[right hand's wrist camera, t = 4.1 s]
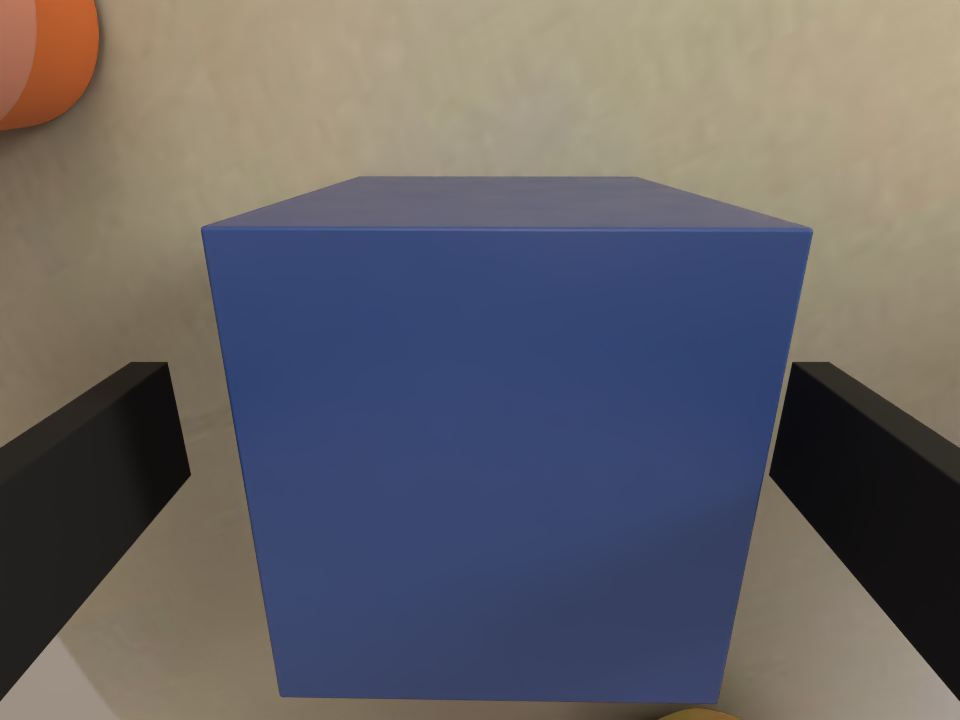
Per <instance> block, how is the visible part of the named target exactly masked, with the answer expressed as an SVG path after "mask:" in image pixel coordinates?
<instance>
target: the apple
mask: <svg viewBox="0 0 960 720" xmlns="http://www.w3.org/2000/svg"><path fill="white" fill-rule="evenodd" d="M658 720H741V719H739V718H736V717H734V716H732V715H729V714H726V713H722V712H718V711H714V710H709V709H704V708H690V709H685V710H681V711H678V712H675V713H672V714H669V715H667V716H664V717H662V718H660V719H658Z"/></svg>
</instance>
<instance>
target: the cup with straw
mask: <svg viewBox="0 0 960 720" xmlns="http://www.w3.org/2000/svg"><path fill="white" fill-rule="evenodd" d="M98 47H99V27H98V18H97V11H96V7H95V2H94V0H0V131H1V130H9V129H17V128H23V127H29V126H35V125H39V124H42V123H45V122H48V121H50V120H53V119H54V118H56V117H58V116H60V115H61V114H63V113H64V112H66V111H67V110H68V109H70V108H71V107H72V106H73V105H74V104H75V103H76V102H77V101H78V99H79V98H80V97H81V96H82V94H83V93H84V91H85V89H86V88H87V86H88V84H89V82H90V80H91V78H92V75H93V72H94V69H95V65H96V61H97V56H98Z"/></svg>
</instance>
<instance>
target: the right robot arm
mask: <svg viewBox="0 0 960 720" xmlns="http://www.w3.org/2000/svg"><path fill="white" fill-rule="evenodd" d="M190 476H191V472H190V468H189V463H188V458H187V453H186V449H185V444H184V439H183V434H182V429H181V425H180V420H179V415H178V410H177V405H176V401H175V396H174V391H173V386H172V381H171V377H170V372H169V367H168V362H130V363H129V364H127V365H126V366H124V367H123V368H121V369H120V370H118V371H117V372H115V373H114V374H112V375H111V376H109V377H108V378H106V379H105V380H103V381H101V382H100V383H98V384H97V385H95V386H94V387H92V388H91V389H89V390H88V391H86V392H85V393H83V394H82V395H80V396H79V397H77V398H76V399H74V400H73V401H71V402H70V403H68V404H67V405H65V406H63V407H62V408H60V409H59V410H57V411H56V412H54V413H53V414H51V415H50V416H48V417H47V418H45V419H44V420H42V421H41V422H39V423H38V424H36V425H35V426H33V427H32V428H30V429H29V430H27V431H25V432H24V433H22V434H21V435H19V436H18V437H16V438H15V439H13V440H12V441H10V442H9V443H7V444H6V445H4V446H3V447H1V448H0V701H1V700H2V699H3V697H4V696H5V695H6V694H7V693H8V691H9V690H10V689H11V688H12V687H13V686H14V684H15V683H16V682H17V681H18V680H19V678H20V677H21V676H22V675H23V674H24V672H25V671H26V670H27V669H28V668H29V667H30V665H31V664H32V663H33V662H34V661H35V659H36V658H37V657H38V656H39V655H40V654H41V652H42V651H43V650H44V649H45V647H46V646H47V645H48V644H49V643H50V642H51V640H52V639H53V638H54V637H55V636H56V635H57V633H58V632H59V631H60V630H61V629H62V627H63V626H64V625H65V624H66V623H67V622H68V620H69V619H70V618H71V617H72V616H73V614H74V613H75V612H76V611H77V610H78V608H79V607H80V606H81V605H82V604H83V603H84V601H85V600H86V599H87V598H88V597H89V595H90V594H91V593H92V592H93V591H94V590H95V588H96V587H97V586H98V585H99V584H100V582H101V581H102V580H103V579H104V578H105V576H106V575H107V574H108V573H109V572H110V571H111V569H112V568H113V567H114V566H115V565H116V563H117V562H118V561H119V560H120V559H121V557H122V556H123V555H124V554H125V553H126V552H127V550H128V549H129V548H130V547H131V546H132V544H133V543H134V542H135V541H136V540H137V539H138V537H139V536H140V535H141V534H142V533H143V531H144V530H145V529H146V528H147V527H148V525H149V524H150V523H151V522H152V521H153V520H154V518H155V517H156V516H157V515H158V514H159V512H160V511H161V510H162V509H163V508H164V507H165V505H166V504H167V503H168V502H169V501H170V499H171V498H172V497H173V496H174V495H175V493H176V492H177V491H178V490H179V489H180V488H181V486H182V485H183V484H184V483H185V482H186V480H187V479H188V478H189V477H190ZM769 476H770V477H771V478H772V479H773V480H774V482H775V483H776V484H777V485H778V486H779V488H780V489H781V490H782V491H783V492H784V493H785V495H786V496H787V497H788V498H789V499H790V501H791V502H792V503H793V504H794V505H795V507H796V508H797V509H798V510H799V511H800V512H801V514H802V515H803V516H804V517H805V518H806V520H807V521H808V522H809V523H810V524H811V525H812V527H813V528H814V529H815V530H816V531H817V533H818V534H819V535H820V536H821V537H822V539H823V540H824V541H825V542H826V543H827V544H828V546H829V547H830V548H831V549H832V550H833V552H834V553H835V554H836V555H837V556H838V557H839V559H840V560H841V561H842V562H843V563H844V565H845V566H846V567H847V568H848V569H849V571H850V572H851V573H852V574H853V575H854V576H855V578H856V579H857V580H858V581H859V582H860V584H861V585H862V586H863V587H864V588H865V590H866V591H867V592H868V593H869V594H870V595H871V597H872V598H873V599H874V600H875V601H876V603H877V604H878V605H879V606H880V607H881V608H882V610H883V611H884V612H885V613H886V614H887V616H888V617H889V618H890V619H891V620H892V622H893V623H894V624H895V625H896V626H897V627H898V629H899V630H900V631H901V632H902V633H903V635H904V636H905V637H906V638H907V639H908V640H909V642H910V643H911V644H912V645H913V646H914V648H915V649H916V650H917V651H918V652H919V654H920V655H921V656H922V657H923V658H924V659H925V661H926V662H927V663H928V664H929V665H930V667H931V668H932V669H933V670H934V671H935V673H936V674H937V675H938V676H939V677H940V678H941V680H942V681H943V682H944V683H945V684H946V686H947V687H948V688H949V689H950V690H951V691H952V693H953V694H954V695H955V696H956V697H957V699H958V700H959V701H960V448H959V447H957V446H956V445H954V444H953V443H951V442H950V441H948V440H947V439H945V438H944V437H942V436H941V435H939V434H938V433H936V432H935V431H933V430H931V429H930V428H928V427H927V426H925V425H924V424H922V423H921V422H919V421H918V420H916V419H915V418H913V417H912V416H910V415H909V414H907V413H906V412H904V411H903V410H901V409H900V408H898V407H897V406H895V405H893V404H892V403H890V402H889V401H887V400H886V399H884V398H883V397H881V396H880V395H878V394H877V393H875V392H874V391H872V390H871V389H869V388H868V387H866V386H865V385H863V384H862V383H860V382H859V381H857V380H855V379H854V378H852V377H851V376H849V375H848V374H846V373H845V372H843V371H842V370H840V369H839V368H837V367H836V366H834V365H833V364H831V363H830V362H792V367H791V372H790V377H789V381H788V386H787V391H786V396H785V401H784V405H783V410H782V415H781V420H780V425H779V429H778V434H777V439H776V444H775V449H774V453H773V458H772V463H771V468H770V472H769Z"/></svg>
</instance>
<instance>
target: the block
mask: <svg viewBox="0 0 960 720" xmlns="http://www.w3.org/2000/svg"><path fill="white" fill-rule="evenodd" d="M201 234H202V239H203V245H204V251H205V257H206V263H207V269H208V275H209V281H210V287H211V293H212V298H213V304H214V310H215V316H216V322H217V328H218V334H219V340H220V346H221V351H222V357H223V363H224V369H225V375H226V381H227V387H228V393H229V399H230V404H231V410H232V416H233V422H234V428H235V434H236V440H237V446H238V452H239V457H240V463H241V469H242V475H243V481H244V487H245V493H246V499H247V505H248V511H249V516H250V522H251V528H252V534H253V540H254V546H255V552H256V558H257V564H258V569H259V575H260V581H261V587H262V593H263V599H264V605H265V611H266V617H267V622H268V628H269V634H270V640H271V646H272V652H273V658H274V664H275V670H276V676H277V681H278V687H279V693H280V696H281V697H307V698H370V699H432V700H495V701H557V702H620V703H682V704H716V703H718V698H719V693H720V688H721V683H722V678H723V673H724V668H725V663H726V658H727V654H728V649H729V644H730V639H731V634H732V629H733V624H734V619H735V614H736V609H737V604H738V599H739V594H740V589H741V585H742V580H743V575H744V570H745V565H746V560H747V555H748V550H749V545H750V540H751V535H752V530H753V525H754V520H755V515H756V511H757V506H758V501H759V496H760V491H761V486H762V481H763V476H764V471H765V466H766V461H767V456H768V451H769V446H770V442H771V437H772V432H773V427H774V422H775V417H776V412H777V407H778V402H779V397H780V392H781V387H782V382H783V377H784V372H785V368H786V363H787V358H788V353H789V348H790V343H791V338H792V333H793V328H794V323H795V318H796V313H797V308H798V303H799V299H800V294H801V289H802V284H803V279H804V274H805V269H806V264H807V259H808V254H809V249H810V244H811V239H812V234H813V230H812V229H811V228H809V227H805V226H802V225H799V224H795V223H792V222H788V221H785V220H781V219H778V218H775V217H771V216H768V215H764V214H761V213H758V212H754V211H751V210H747V209H744V208H740V207H737V206H734V205H730V204H727V203H723V202H720V201H716V200H713V199H710V198H706V197H703V196H699V195H696V194H692V193H689V192H686V191H682V190H679V189H675V188H672V187H669V186H665V185H662V184H658V183H655V182H651V181H648V180H645V179H641V178H638V177H357V178H354V179H350V180H347V181H344V182H341V183H338V184H335V185H332V186H328V187H325V188H322V189H319V190H316V191H313V192H310V193H307V194H303V195H300V196H297V197H294V198H291V199H288V200H285V201H281V202H278V203H275V204H272V205H269V206H266V207H263V208H260V209H256V210H253V211H250V212H247V213H244V214H241V215H238V216H234V217H231V218H228V219H225V220H222V221H219V222H216V223H212V224H209V225H206V226H204V227H202V228H201Z"/></svg>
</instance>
